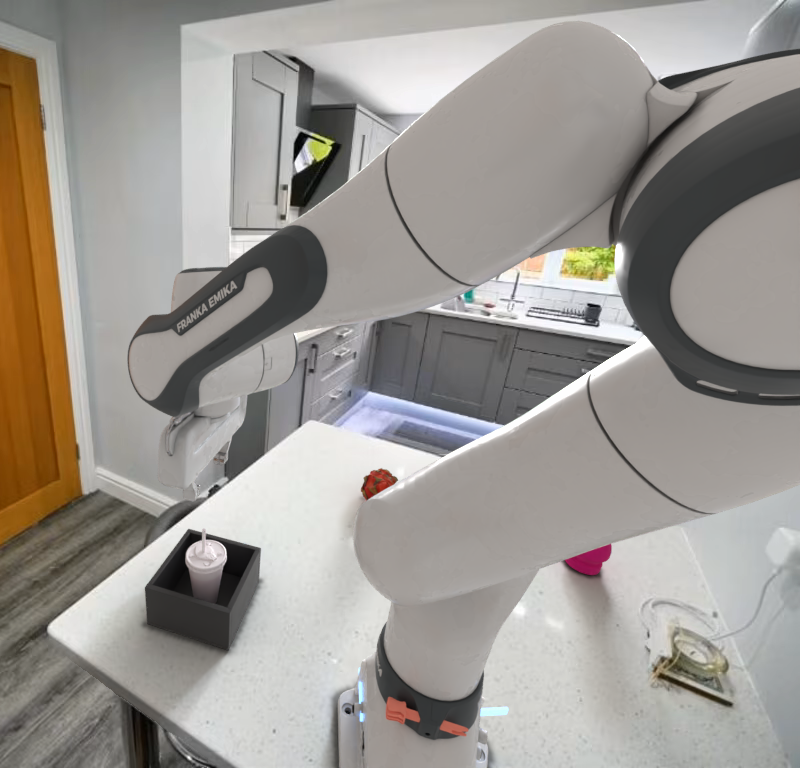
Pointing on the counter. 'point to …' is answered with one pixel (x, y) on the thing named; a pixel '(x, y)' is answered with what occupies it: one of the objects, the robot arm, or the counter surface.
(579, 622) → the counter surface
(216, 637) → the basket
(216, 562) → the smoothie
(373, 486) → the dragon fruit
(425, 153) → the robot arm
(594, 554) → the pepper mill
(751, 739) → the counter surface
